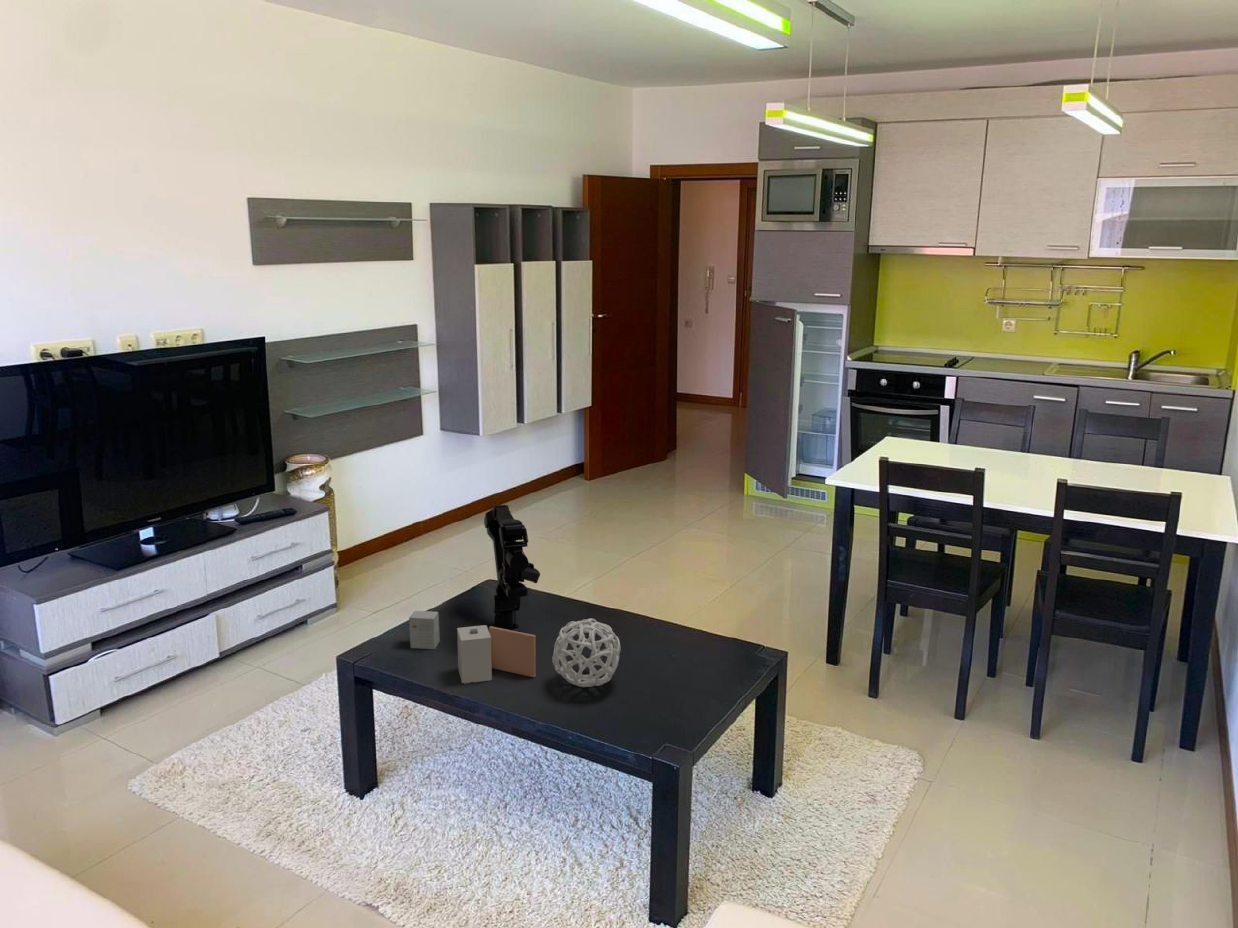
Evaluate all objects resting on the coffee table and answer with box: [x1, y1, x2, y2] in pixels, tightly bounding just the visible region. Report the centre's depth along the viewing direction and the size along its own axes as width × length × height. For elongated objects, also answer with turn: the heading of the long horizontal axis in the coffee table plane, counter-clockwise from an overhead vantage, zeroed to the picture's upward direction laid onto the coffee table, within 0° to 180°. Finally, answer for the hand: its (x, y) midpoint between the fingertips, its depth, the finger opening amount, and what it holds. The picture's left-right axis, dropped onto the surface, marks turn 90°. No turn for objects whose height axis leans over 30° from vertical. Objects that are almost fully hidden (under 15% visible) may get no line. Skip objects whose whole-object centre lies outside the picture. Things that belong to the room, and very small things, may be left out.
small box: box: [408, 610, 441, 650], centre depth 290 cm, size 8×6×10 cm
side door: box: [488, 625, 537, 678], centre depth 272 cm, size 1×15×13 cm, turn 67°
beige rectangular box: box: [456, 624, 493, 684], centre depth 271 cm, size 10×9×14 cm
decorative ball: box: [551, 617, 622, 688], centre depth 265 cm, size 20×20×19 cm
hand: (512, 607), depth 291 cm, fingers closed
